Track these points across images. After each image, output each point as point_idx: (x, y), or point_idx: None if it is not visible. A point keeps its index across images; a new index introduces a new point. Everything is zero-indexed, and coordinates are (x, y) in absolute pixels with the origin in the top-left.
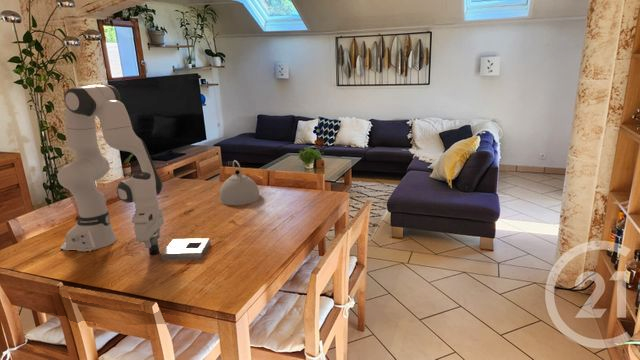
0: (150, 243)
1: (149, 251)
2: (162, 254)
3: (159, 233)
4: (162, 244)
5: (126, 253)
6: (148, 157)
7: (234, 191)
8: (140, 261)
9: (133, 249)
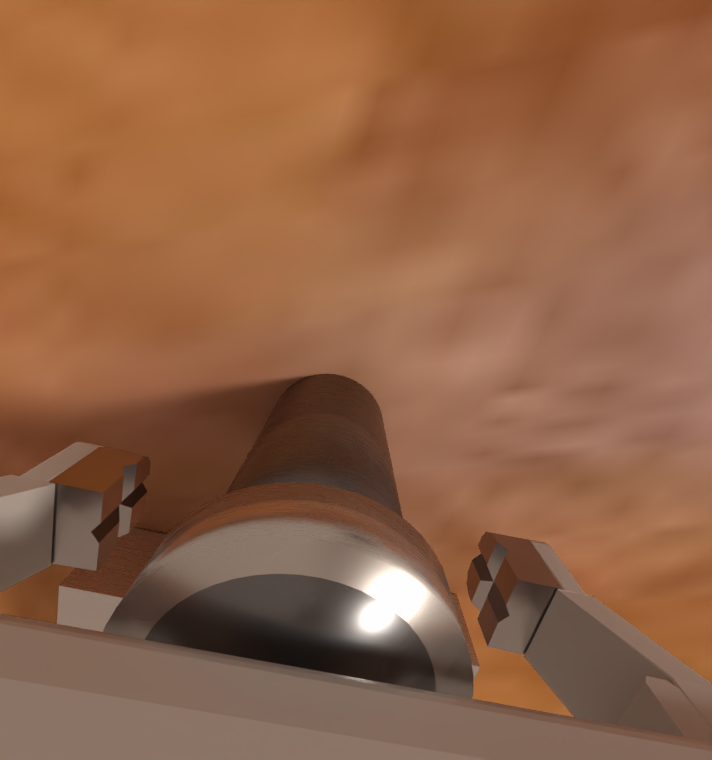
0: (60, 563)
1: (283, 400)
2: (64, 587)
3: (545, 657)
4: (546, 484)
5: (461, 36)
6: None
7: None
8: (139, 293)
9: (565, 131)
